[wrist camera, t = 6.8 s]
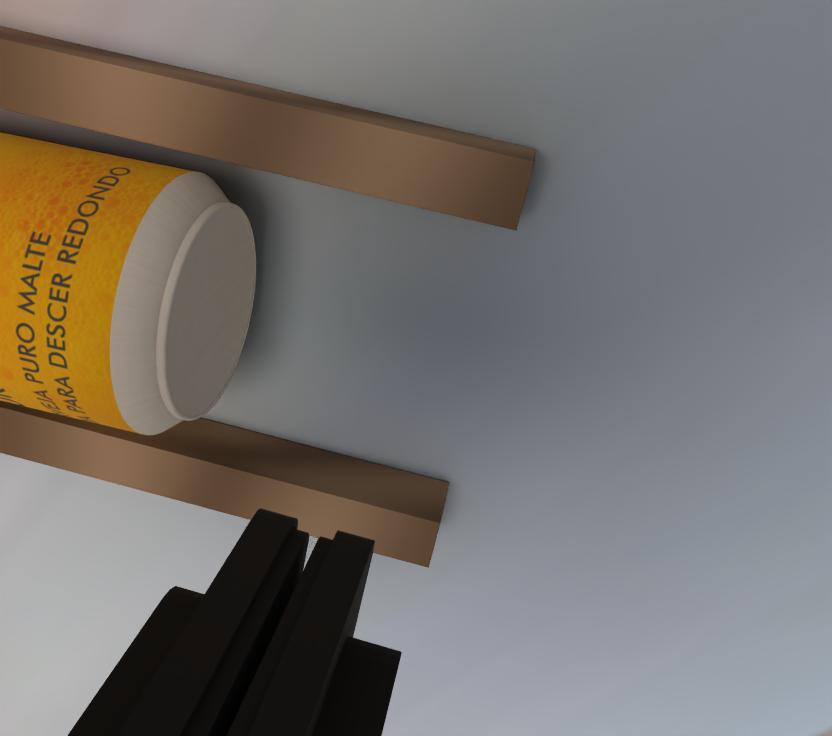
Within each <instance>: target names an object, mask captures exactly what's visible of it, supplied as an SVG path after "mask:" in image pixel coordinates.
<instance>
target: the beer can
mask: <svg viewBox="0 0 832 736" xmlns="http://www.w3.org/2000/svg"><path fill="white" fill-rule="evenodd" d="M255 284H256V250H255V242H254V235H253V231H252V227H251V224H250V222H249V219H248V217H247V215H246V214H245V212H244V211H243V210H242V209H241V208H240V207H239V206H238V205H236V204H233V203H230V202H229V200H228V199H227V197H226V196H225V195H224V193H223V192H222V190H221V189H220V188H219V186H218V185H217V183H216V182H215V181H214V180H213V179H212V178H211V177H209V176H207V175H206V174H204V173H200V172H195V171H190V170H185V169H180V168H175V167H170V166H165V165H160V164H155V163H150V162H145V161H140V160H135V159H130V158H125V157H120V156H115V155H110V154H105V153H100V152H95V151H90V150H85V149H80V148H76V147H71V146H66V145H61V144H56V143H51V142H46V141H41V140H36V139H31V138H26V137H21V136H16V135H11V134H6V133H1V132H0V401H4V402H8V403H12V404H16V405H21V406H25V407H29V408H33V409H38V410H42V411H46V412H50V413H55V414H59V415H63V416H67V417H71V418H76V419H80V420H84V421H88V422H93V423H97V424H101V425H105V426H110V427H114V428H118V429H122V430H126V431H131V432H135V433H139V434H143V435H156V434H159V433H162V432H164V431H166V430H167V429H169V428H171V427H173V426H174V425H176V424H178V423H180V422H181V421H183V420H186V421H192V420H196V419H198V418H200V417H202V416H203V415H205V414H206V413H207V412H208V411H209V410H210V409H211V408H212V407H213V406H214V405H215V403H216V402H217V401H218V399H219V398H220V397H221V395H222V394H223V392H224V390H225V388H226V387H227V385H228V383H229V381H230V379H231V377H232V375H233V372H234V370H235V368H236V365H237V363H238V360H239V358H240V355H241V352H242V349H243V346H244V342H245V339H246V335H247V331H248V328H249V323H250V318H251V313H252V308H253V301H254V294H255Z"/></svg>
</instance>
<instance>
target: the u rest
mask: <svg viewBox="0 0 832 736" xmlns="http://www.w3.org/2000/svg"><path fill="white" fill-rule="evenodd" d="M0 108H1V109H6V110H10V111H14V112H18V113H22V114H27V115H31V116H35V117H39V118H44V119H48V120H52V121H56V122H60V123H65V124H69V125H73V126H77V127H82V128H86V129H90V130H94V131H98V132H103V133H107V134H111V135H115V136H120V137H124V138H128V139H132V140H136V141H141V142H145V143H149V144H153V145H158V146H162V147H166V148H170V149H174V150H179V151H183V152H187V153H191V154H196V155H200V156H204V157H208V158H212V159H217V160H221V161H225V162H229V163H234V164H238V165H242V166H246V167H250V168H255V169H259V170H263V171H267V172H272V173H276V174H280V175H284V176H288V177H293V178H297V179H301V180H305V181H310V182H314V183H318V184H322V185H326V186H331V187H335V188H339V189H343V190H348V191H352V192H356V193H360V194H364V195H369V196H373V197H377V198H381V199H386V200H390V201H394V202H398V203H402V204H407V205H411V206H415V207H419V208H424V209H428V210H432V211H436V212H440V213H445V214H449V215H453V216H457V217H462V218H466V219H470V220H474V221H478V222H483V223H487V224H491V225H495V226H500V227H504V228H508V229H512V230H517V226H518V222H519V218H520V214H521V210H522V206H523V203H524V199H525V195H526V191H527V187H528V183H529V180H530V176H531V172H532V168H533V164H534V159H535V151H536V149H533V148H529V147H525V146H520V145H516V144H512V143H507V142H503V141H499V140H494V139H490V138H485V137H481V136H477V135H472V134H468V133H464V132H459V131H455V130H451V129H446V128H442V127H438V126H433V125H429V124H424V123H420V122H416V121H411V120H407V119H403V118H398V117H394V116H390V115H385V114H381V113H376V112H372V111H368V110H363V109H359V108H355V107H350V106H346V105H342V104H337V103H333V102H328V101H324V100H320V99H315V98H311V97H307V96H302V95H298V94H294V93H289V92H285V91H281V90H276V89H272V88H267V87H263V86H259V85H254V84H250V83H246V82H241V81H237V80H233V79H228V78H224V77H219V76H215V75H211V74H206V73H202V72H198V71H193V70H189V69H185V68H180V67H176V66H171V65H167V64H163V63H158V62H154V61H150V60H145V59H141V58H137V57H132V56H128V55H124V54H119V53H115V52H110V51H106V50H102V49H97V48H93V47H89V46H84V45H80V44H76V43H71V42H67V41H62V40H58V39H54V38H49V37H45V36H41V35H36V34H32V33H28V32H23V31H19V30H14V29H10V28H6V27H1V26H0ZM0 453H4V454H8V455H11V456H15V457H19V458H23V459H26V460H30V461H34V462H38V463H41V464H45V465H49V466H52V467H56V468H60V469H64V470H67V471H71V472H75V473H78V474H82V475H86V476H90V477H93V478H97V479H101V480H105V481H108V482H112V483H116V484H119V485H123V486H127V487H131V488H134V489H138V490H142V491H146V492H149V493H153V494H157V495H160V496H164V497H168V498H172V499H175V500H179V501H183V502H186V503H190V504H194V505H198V506H201V507H205V508H209V509H213V510H216V511H220V512H224V513H227V514H231V515H235V516H239V517H242V518H246V519H250V520H251V519H252V518H253V516H254V514H255V513H256V512H257V510H258V509H260V508H262V509H265V510H269V511H272V512H276V513H279V514H283V515H286V516H290V517H293V518H297V519H298V529H297V530H300V531H304V532H307V533H309V536H313V537H317V538H319V537H320V536H322V537H325V538H329V539H332V540H333V538H334V536H335V534H336V532H337V531H338V530H339V531H343V532H347V533H350V534H354V535H357V536H361V537H364V538H368V539H371V540H375V546H374V550H373V553H376V554H380V555H384V556H388V557H391V558H395V559H399V560H402V561H406V562H410V563H414V564H417V565H421V566H425V567H429V564H430V560H431V557H432V553H433V549H434V545H435V541H436V537H437V534H438V530H439V526H440V522H441V517H442V513H443V508H444V504H445V500H446V495H447V491H448V486H449V483H448V482H444V481H440V480H436V479H433V478H429V477H425V476H421V475H417V474H413V473H410V472H406V471H402V470H398V469H394V468H390V467H387V466H383V465H379V464H375V463H371V462H367V461H364V460H360V459H356V458H352V457H348V456H344V455H341V454H337V453H333V452H329V451H325V450H321V449H318V448H314V447H310V446H306V445H302V444H298V443H295V442H291V441H287V440H283V439H279V438H275V437H271V436H268V435H264V434H260V433H256V432H252V431H248V430H245V429H241V428H237V427H233V426H229V425H225V424H222V423H218V422H214V421H210V420H206V419H202V418H198V419H196V420H192V421H186V420H183V421H181V422H180V423H178V424H176V425H174V426H173V427H171V428H169V429H167V430H166V431H164V432H162V433H159V434H156V435H143V434H139V433H135V432H131V431H126V430H122V429H118V428H114V427H110V426H105V425H101V424H97V423H93V422H88V421H84V420H80V419H76V418H71V417H67V416H63V415H59V414H55V413H50V412H46V411H42V410H38V409H33V408H29V407H25V406H21V405H16V404H12V403H8V402H4V401H0Z"/></svg>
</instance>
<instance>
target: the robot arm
mask: <svg viewBox="0 0 832 736" xmlns="http://www.w3.org/2000/svg"><path fill="white" fill-rule="evenodd" d="M297 529H298V519H297V518H293V517H290V516H286V515H283V514H279V513H276V512H272V511H269V510H265V509H262V508H260V509H258V510H257V512H256V513H255V514H254V516H253V518H252V519H251V521H250V522H249V524H248V526H247V527H246V529H245V530H244V532H243V534H242V535H241V537H240V539H239V540H238V542H237V543H236V545H235V547H234V548H233V550H232V551H231V553H230V555H229V556H228V558H227V559H226V561H225V563H224V564H223V566H222V567H221V569H220V571H219V572H218V574H217V575H216V577H215V579H214V580H213V582H212V584H211V585H210V587H209V588H208V590H207V592H206V593H205V594H201V593H198V592H194V591H191V590H187V589H184V588H181V587H177V586H175V587H173V588H172V589H170V590H169V591H168V592H167V594H166V595H165V596H164V597H163V599H162V600H161V602H160V603H159V604H158V606H157V607H156V609H155V610H154V612H153V613H152V614H151V616H150V617H149V619H148V620H147V622H146V623H145V625H144V626H143V627H142V629H141V630H140V632H139V633H138V635H137V636H136V638H135V639H134V640H133V642H132V643H131V645H130V646H129V648H128V649H127V651H126V652H125V653H124V655H123V656H122V658H121V659H120V661H119V662H118V664H117V665H116V666H115V668H114V669H113V671H112V672H111V674H110V675H109V677H108V678H107V679H106V681H105V682H104V684H103V685H102V687H101V688H100V690H99V691H98V692H97V694H96V695H95V697H94V698H93V700H92V701H91V703H90V704H89V705H88V707H87V708H86V710H85V711H84V713H83V714H82V716H81V717H80V718H79V720H78V721H77V723H76V724H75V726H74V727H73V729H72V730H71V731H70V733H69V734H68V736H381V735H382V731H383V727H384V723H385V719H386V715H387V710H388V706H389V702H390V698H391V694H392V690H393V686H394V682H395V678H396V674H397V670H398V665H399V661H400V657H401V652H400V651H397V650H393V649H390V648H386V647H383V646H380V645H376V644H373V643H369V642H366V641H362V640H359V639H356V638H353V635H354V630H355V626H356V622H357V618H358V614H359V609H360V605H361V601H362V597H363V592H364V588H365V584H366V580H367V576H368V571H369V567H370V563H371V559H372V554H373V550H374V546H375V540H371V539H368V538H364V537H361V536H357V535H354V534H350V533H347V532H343V531H339V530H338V531H337V532H336V534H335V536H334V538H333V540H332V539H329V538H325V537H322V536H320V537H319V539H318V541H317V543H316V545H315V547H314V549H313V551H312V553H311V556H310V558H309V560H308V562H307V564H306V566H305V568H304V562H305V557H306V552H307V547H308V541H309V533H307V532H304V531H300V530H297ZM303 568H304V571H303Z"/></svg>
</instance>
